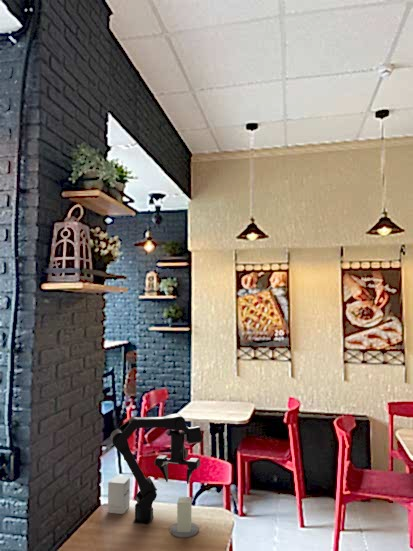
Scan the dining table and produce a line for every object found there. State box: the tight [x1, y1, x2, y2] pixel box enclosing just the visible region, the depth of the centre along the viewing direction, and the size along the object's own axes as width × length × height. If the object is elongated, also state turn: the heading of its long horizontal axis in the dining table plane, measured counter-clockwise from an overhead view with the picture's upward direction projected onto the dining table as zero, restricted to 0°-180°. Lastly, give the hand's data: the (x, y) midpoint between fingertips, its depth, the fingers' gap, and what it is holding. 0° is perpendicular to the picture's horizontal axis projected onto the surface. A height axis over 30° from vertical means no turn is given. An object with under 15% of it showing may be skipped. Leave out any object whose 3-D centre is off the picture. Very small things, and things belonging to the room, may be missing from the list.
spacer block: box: [176, 496, 192, 532], centre depth 175 cm, size 5×5×11 cm
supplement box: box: [107, 476, 131, 515], centre depth 193 cm, size 7×7×13 cm
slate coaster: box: [169, 522, 200, 539], centre depth 175 cm, size 11×11×1 cm
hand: (177, 482), depth 189 cm, fingers open, 9 cm apart
